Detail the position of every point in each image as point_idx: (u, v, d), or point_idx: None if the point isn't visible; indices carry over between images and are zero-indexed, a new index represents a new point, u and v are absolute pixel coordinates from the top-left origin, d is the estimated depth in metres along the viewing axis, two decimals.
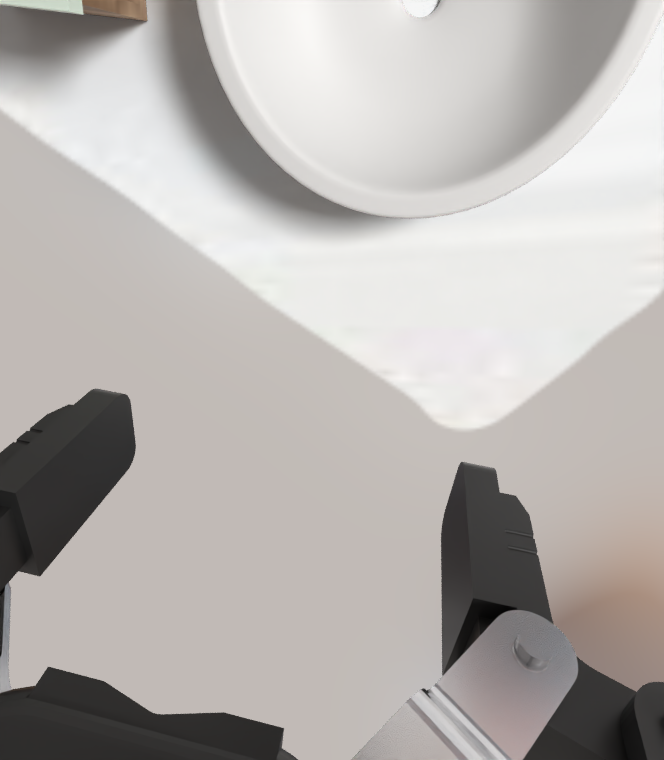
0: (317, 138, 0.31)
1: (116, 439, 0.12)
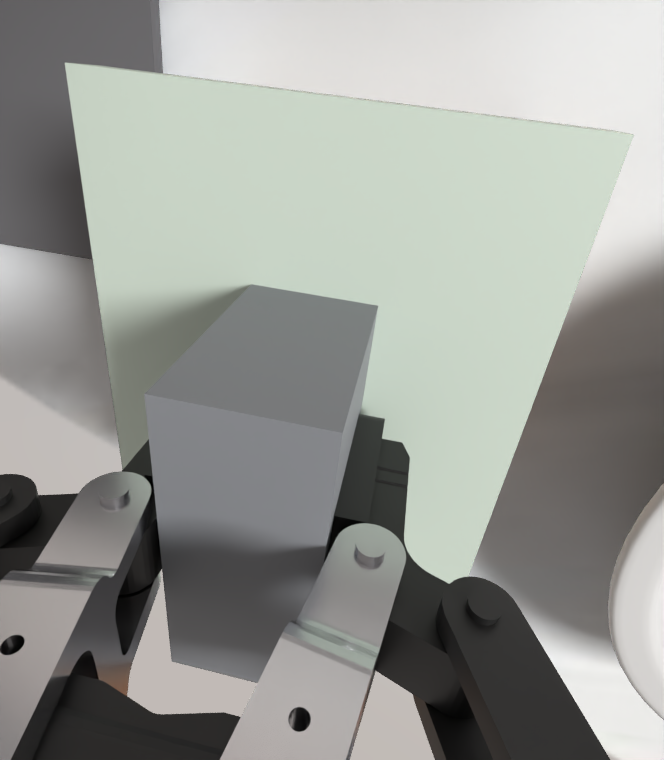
0: None
1: None
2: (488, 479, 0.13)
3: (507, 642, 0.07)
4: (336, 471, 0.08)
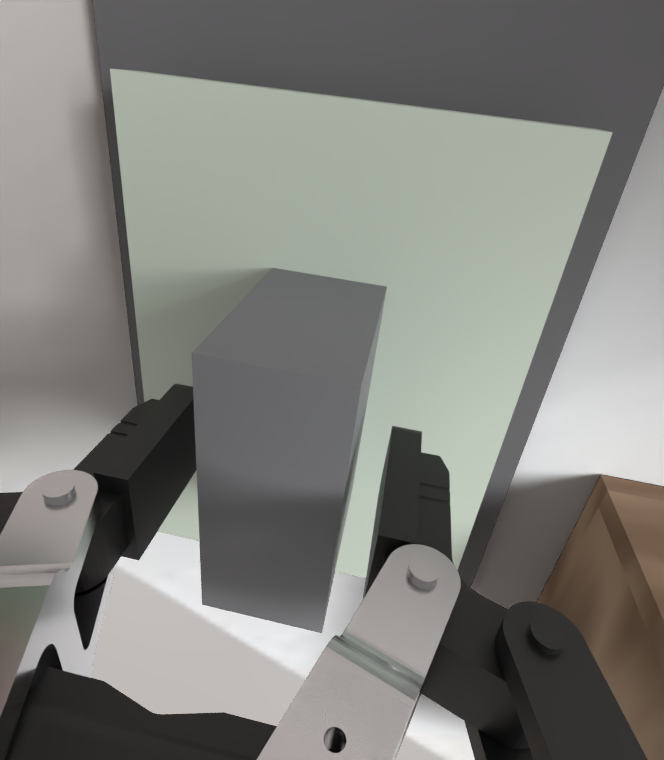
0: None
1: None
2: (486, 447, 0.14)
3: (570, 675, 0.07)
4: (355, 419, 0.09)
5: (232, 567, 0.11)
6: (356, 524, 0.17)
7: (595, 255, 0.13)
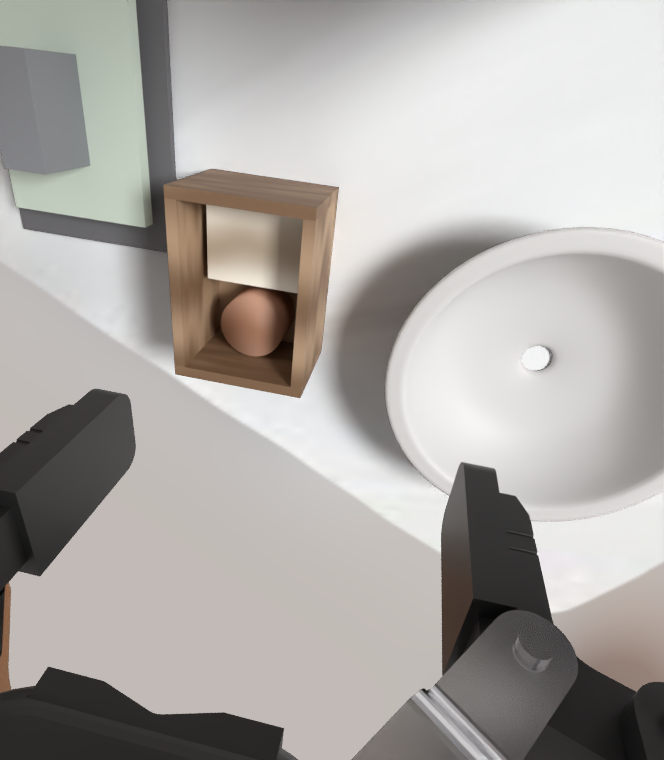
0: (457, 456, 0.42)
1: (116, 439, 0.12)
2: (132, 131, 0.36)
3: None
4: (26, 63, 0.30)
5: (9, 143, 0.32)
6: (97, 186, 0.38)
7: (164, 47, 0.35)
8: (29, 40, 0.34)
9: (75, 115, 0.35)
